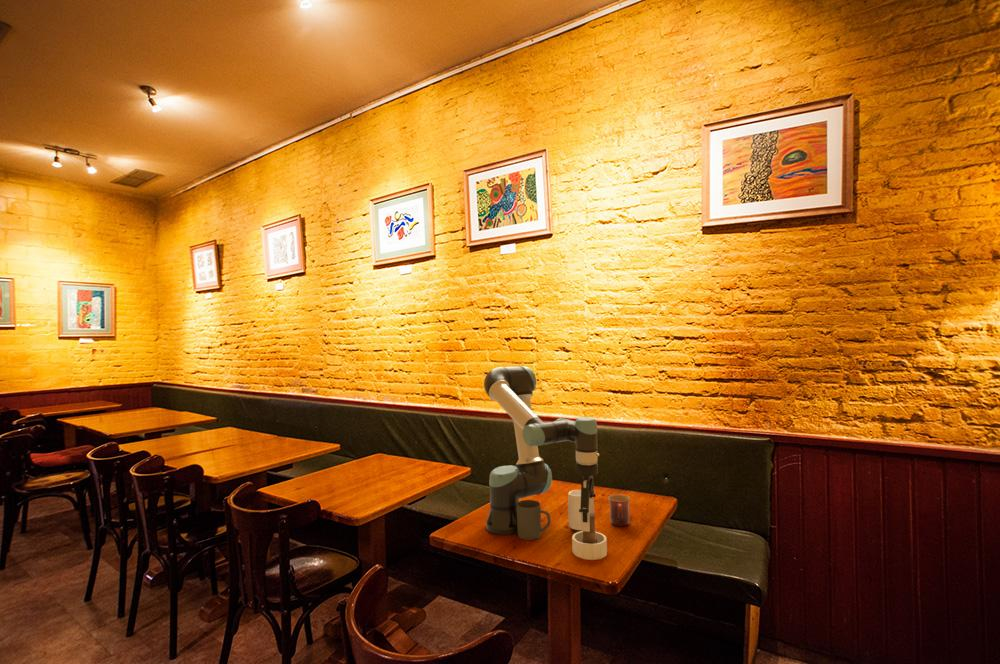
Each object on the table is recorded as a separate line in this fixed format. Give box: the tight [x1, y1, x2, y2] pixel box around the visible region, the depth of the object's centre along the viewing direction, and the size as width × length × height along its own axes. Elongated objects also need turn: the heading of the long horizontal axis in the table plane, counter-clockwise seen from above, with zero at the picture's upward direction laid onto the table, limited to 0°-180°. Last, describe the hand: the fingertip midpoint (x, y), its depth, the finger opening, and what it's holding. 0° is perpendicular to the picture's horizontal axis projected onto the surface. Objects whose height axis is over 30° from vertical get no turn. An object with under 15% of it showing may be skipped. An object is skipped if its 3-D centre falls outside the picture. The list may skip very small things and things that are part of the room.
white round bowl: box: [571, 530, 608, 561], centre depth 162 cm, size 12×12×5 cm
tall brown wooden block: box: [583, 513, 596, 543], centre depth 163 cm, size 4×2×12 cm, turn 73°
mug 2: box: [607, 493, 631, 527], centre depth 186 cm, size 12×9×10 cm
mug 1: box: [517, 499, 552, 541], centre depth 177 cm, size 14×9×12 cm
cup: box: [567, 489, 586, 531], centre depth 183 cm, size 8×8×14 cm
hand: (587, 523), depth 163 cm, fingers open, 13 cm apart
